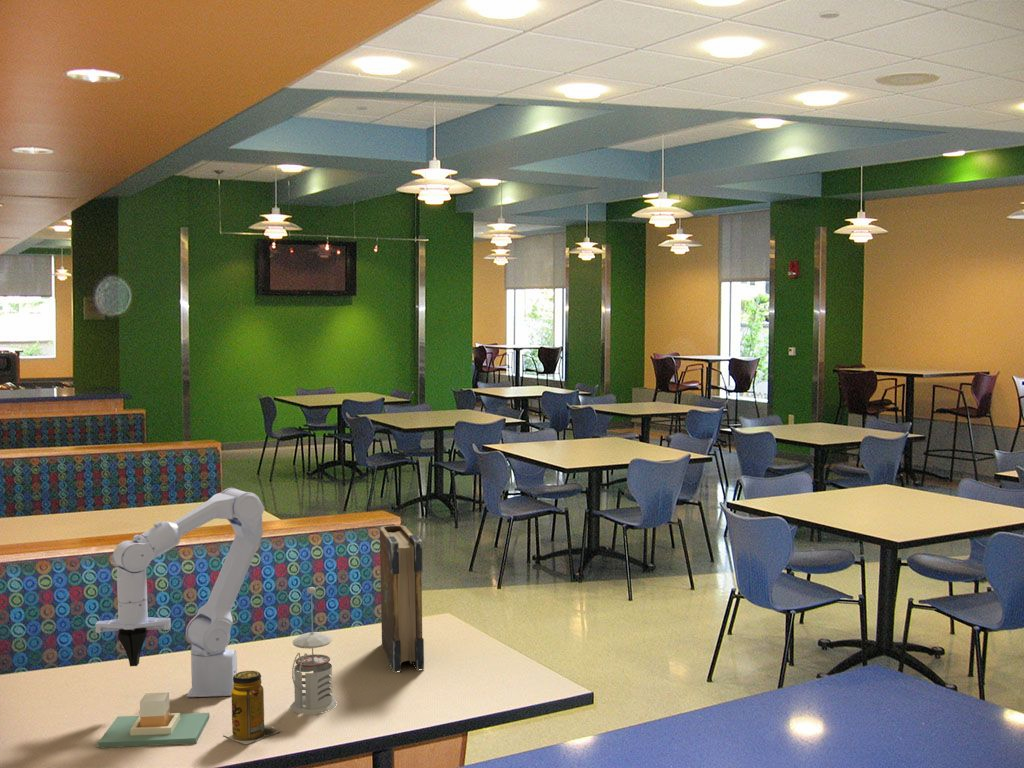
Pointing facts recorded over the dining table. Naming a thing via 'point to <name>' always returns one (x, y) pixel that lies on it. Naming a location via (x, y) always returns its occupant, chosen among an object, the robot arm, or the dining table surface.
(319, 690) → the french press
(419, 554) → the decorative book
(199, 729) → the base plate
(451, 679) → the dining table surface
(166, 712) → the brick stack
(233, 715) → the condiment
